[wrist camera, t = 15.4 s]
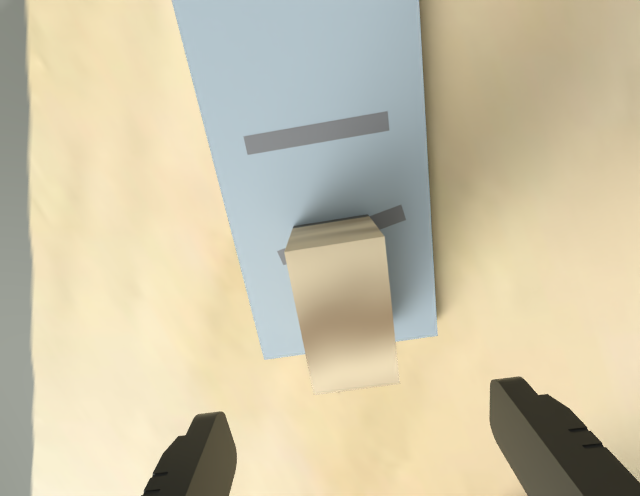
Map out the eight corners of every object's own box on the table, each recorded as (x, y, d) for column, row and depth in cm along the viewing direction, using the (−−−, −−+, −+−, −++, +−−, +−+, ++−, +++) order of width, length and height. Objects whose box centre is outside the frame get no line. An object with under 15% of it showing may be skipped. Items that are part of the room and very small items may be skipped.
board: (168, -51, 16) (153, -71, 14) (403, -100, 15) (412, -126, 14) (267, 346, 23) (264, 359, 21) (430, 323, 22) (437, 335, 21)
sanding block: (293, 226, 18) (284, 252, 14) (367, 214, 18) (384, 236, 13) (315, 339, 21) (314, 395, 16) (381, 329, 21) (399, 383, 16)
